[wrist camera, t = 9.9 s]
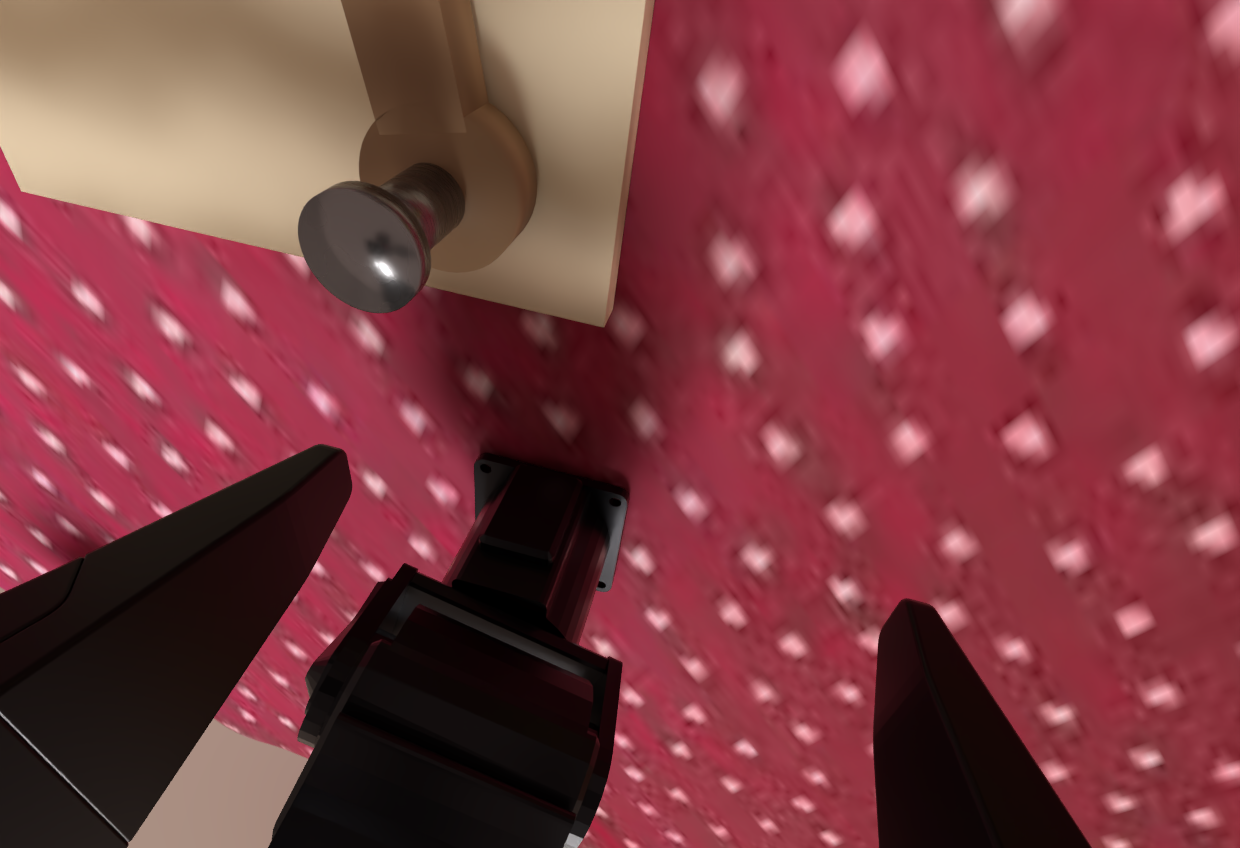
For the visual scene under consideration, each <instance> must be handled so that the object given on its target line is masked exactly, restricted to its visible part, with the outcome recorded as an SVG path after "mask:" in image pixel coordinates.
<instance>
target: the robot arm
mask: <svg viewBox="0 0 1240 848" xmlns="http://www.w3.org/2000/svg"><path fill="white" fill-rule="evenodd" d="M486 464H487V465H489V466H490V467H489V466H487V465H486ZM474 480H475V522H474V524H473V526H472V528H471V530H470V532H469V533H468V535H467V537H466V539H465V541H464V543H463V544H462V546H461V548H460V550H459V552H458V553H457V555H456V557H455V559H454V561H453V563H452V564H451V566H450V568H449V570H448V572H447V573H446V575H445V577H444V579H443V581H442V583H441V582H439V581H437V580H435V579H433V578H430V577H428V576H426V575H424V574H422V573H420V572H418V569H417V568H415V567H413V566H410V565H408V564H406V563H404V564H403V565H402V567H401V568H400V569H399V571H398V572H397V574H396V575H395V576H394V578H393V579H390V578H388V579H387V580H386V581H384V582H378V583H377V584H376V586H375V587H374V589H373V590H372V592H371V593H370V595H369V597H368V598H367V600H366V601H365V603H364V604H363V606H362V607H361V609H360V610H359V612H358V613H357V615H356V616H355V617H354V619H353V620H352V621H351V622H350V624H349V625H348V626H347V627H346V628H345V629H344V630H343V631H342V632H341V633H340V634H339V636H338V637H337V638H336V639H335V640H334V641H333V642H332V643H331V644H330V645H329V646H328V647H327V648H326V650H325V651H324V652H323V653H322V654H321V655H320V656H319V657H318V658H317V659H316V660H315V662H314V663H313V664H312V666H311V667H310V669H309V671H308V673H307V675H306V677H305V681H306V685H307V689H308V693H309V697H310V699H309V701H308V704H307V706H306V709H305V714H306V716H305V718H304V720H303V723H302V725H301V728H300V730H299V734H298V741H299V742H301V743H304V744H306V745H308V746H311V747H313V748H314V750H313V751H312V753H311V755H310V757H309V759H308V761H307V763H306V765H305V767H304V769H303V771H302V773H301V775H300V777H299V779H298V780H297V783H296V784H295V786H294V788H293V790H292V792H291V794H290V796H289V798H288V800H287V802H286V804H285V806H284V808H283V809H282V811H281V813H280V815H279V817H278V819H277V821H276V824H275V827H274V829H273V835H272V841H271V843H270V845H269V847H268V848H577V847H578V846H579V844H580V843H581V841H582V840H583V838H584V836H585V835H586V833H587V831H588V829H589V827H590V825H591V823H592V820H593V818H594V816H595V814H596V811H597V809H598V806H599V803H600V800H601V798H602V795H603V792H604V788H605V785H606V782H607V778H608V774H609V770H610V766H611V760H612V754H613V746H614V737H615V728H616V718H617V709H618V700H619V691H620V682H621V673H622V662H621V661H618V660H616V659H614V658H612V657H610V656H609V657H608V658H606V657H604V656H601V655H599V654H597V653H595V652H593V651H590V650H588V649H586V648H584V647H582V646H579V641H580V638H581V635H582V632H583V629H584V626H585V623H586V620H587V616H588V613H589V610H590V607H591V604H592V601H593V598H594V594H595V591H596V590H597V591H601V592H607V591H609V590H610V589H611V587H612V583H613V580H614V575H615V569H616V564H617V559H618V554H619V549H620V544H621V539H622V534H623V528H624V523H625V518H626V513H627V508H628V503H629V494H628V493H627V491H626V490H624V489H623V488H620V487H617V486H613V485H610V484H606V483H602V482H598V481H594V480H590V479H586V478H582V477H579V476H575V475H571V474H567V473H563V472H559V471H555V470H551V469H548V468H544V467H540V466H536V465H532V464H528V463H524V462H520V461H516V460H513V459H509V458H505V457H501V456H497V455H493V454H489V453H483V454H481V455H480V456H479V457H478V458H477V460H476V462H475V464H474ZM351 492H352V480H351V475H350V470H349V465H348V460H347V455H346V453H345V452H344V450H342V449H340V448H336V447H332V446H329V445H325V444H318V445H315V446H313V447H310V448H308V449H306V450H304V451H302V452H300V453H298V454H296V455H294V456H292V457H289V458H287V459H285V460H283V461H281V462H279V463H277V464H275V465H273V466H271V467H268V468H266V469H264V470H262V471H260V472H258V473H256V474H254V475H252V476H249V477H247V478H245V479H243V480H241V481H239V482H237V483H235V484H233V485H231V486H228V487H226V488H224V489H222V490H220V491H218V492H216V493H214V494H212V495H210V496H207V497H205V498H203V499H201V500H199V501H197V502H195V503H193V504H191V505H189V506H186V507H184V508H182V509H180V510H178V511H176V512H174V513H172V514H170V515H168V516H165V517H163V518H161V519H159V520H157V521H155V522H153V523H151V524H149V525H147V526H144V527H142V528H140V529H138V530H136V531H134V532H132V533H130V534H128V535H125V536H123V537H121V538H119V539H117V540H115V541H113V542H111V543H109V544H107V545H104V546H102V547H100V548H98V549H96V550H94V551H92V552H90V553H88V554H86V556H85V558H84V557H79V558H77V559H75V560H73V561H70V562H68V563H66V564H64V565H62V566H60V567H58V568H56V569H54V570H51V571H49V572H47V573H45V574H43V575H41V576H38V577H36V578H34V579H32V580H30V581H27V582H25V583H23V584H21V585H19V586H16V587H14V588H12V589H10V590H8V591H5V592H3V593H0V848H127V847H128V842H130V841H131V840H132V838H133V837H134V836H135V834H136V833H137V831H138V830H139V828H140V827H141V825H142V824H143V822H144V821H145V819H146V818H147V816H148V815H149V813H150V812H151V810H152V809H153V807H154V806H155V804H156V803H157V801H158V800H159V798H160V797H161V795H162V794H163V793H164V791H165V790H166V788H167V787H168V785H169V784H170V782H171V781H172V779H173V778H174V776H175V775H176V773H177V772H178V770H179V768H180V767H181V766H182V764H183V763H184V761H185V760H186V758H187V757H188V755H189V754H190V752H191V751H192V749H193V748H194V746H195V745H196V743H197V742H198V740H199V739H200V737H201V736H202V734H203V733H204V731H205V730H206V728H207V727H208V725H209V724H210V723H211V721H212V719H213V718H214V717H215V715H216V714H217V712H218V711H219V709H220V708H221V706H222V705H223V703H224V702H225V700H226V699H227V697H228V696H229V694H230V693H231V691H232V690H233V688H234V687H235V685H236V684H237V682H238V681H239V679H240V678H241V676H242V675H243V673H244V672H245V670H246V669H247V667H248V666H249V664H250V663H251V661H252V660H253V658H254V657H255V655H256V654H257V653H258V651H259V650H260V648H261V647H262V645H263V644H264V642H265V641H266V639H267V638H268V636H269V635H270V633H271V632H272V630H273V629H274V627H275V626H276V624H277V623H278V621H279V620H280V618H281V617H282V615H283V614H284V612H285V611H286V609H287V608H288V606H289V605H290V603H291V602H292V600H293V599H294V597H295V596H296V594H297V593H298V591H299V590H300V588H301V587H302V585H303V584H304V582H305V581H306V579H307V577H308V576H309V574H310V572H311V570H312V569H313V567H314V565H315V563H316V561H317V559H318V557H319V556H320V554H321V552H322V550H323V548H324V546H325V544H326V542H327V540H328V538H329V536H330V534H331V533H332V531H333V529H334V527H335V525H336V523H337V521H338V519H339V517H340V515H341V513H342V512H343V510H344V508H345V506H346V504H347V502H348V500H349V498H350V495H351ZM614 498H617V499H619V500H616V499H614ZM873 753H874V770H875V787H876V804H877V821H878V838H879V848H1092V847H1091V846H1090V844H1089V843H1088V841H1087V839H1086V838H1085V836H1084V835H1083V833H1082V832H1081V830H1080V829H1079V827H1078V826H1077V824H1076V823H1075V821H1074V820H1073V818H1072V817H1071V815H1070V814H1069V812H1068V810H1067V809H1066V807H1065V806H1064V804H1063V803H1062V801H1061V800H1060V798H1059V797H1058V795H1057V794H1056V792H1055V791H1054V789H1053V788H1052V786H1051V785H1050V783H1049V782H1048V780H1047V778H1046V777H1045V775H1044V774H1043V772H1042V771H1041V769H1040V768H1039V766H1038V765H1037V763H1036V762H1035V760H1034V759H1033V757H1032V756H1031V754H1030V753H1029V751H1028V750H1027V748H1026V746H1025V745H1024V743H1023V742H1022V740H1021V739H1020V737H1019V736H1018V734H1017V733H1016V731H1015V730H1014V728H1013V727H1012V725H1011V724H1010V722H1009V721H1008V719H1007V717H1006V716H1005V714H1004V713H1003V711H1002V710H1001V708H1000V707H999V705H998V704H997V702H996V701H995V699H994V698H993V696H992V695H991V693H990V692H989V690H988V689H987V687H986V685H985V684H984V682H983V681H982V679H981V678H980V676H979V675H978V673H977V672H976V670H975V669H974V667H973V666H972V664H971V663H970V661H969V660H968V658H967V656H966V655H965V653H964V652H963V650H962V649H961V647H960V646H959V644H958V643H957V641H956V640H955V638H954V637H953V635H952V634H951V632H950V631H949V629H948V628H947V626H946V624H945V623H944V621H943V620H942V618H941V617H940V615H939V614H938V612H937V611H936V609H935V608H934V607H933V606H931V605H930V604H927V603H923V602H920V601H916V600H912V599H907V598H905V599H903V600H901V601H900V602H899V604H898V605H897V606H896V608H895V609H894V611H893V612H892V614H891V615H890V617H889V618H888V620H887V621H886V623H885V624H884V626H883V627H882V629H881V632H880V635H879V640H878V655H877V672H876V689H875V706H874V725H873Z"/></svg>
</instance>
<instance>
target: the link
mask: <svg viewBox="0 0 1240 848" xmlns="http://www.w3.org/2000/svg"><path fill="white" fill-rule="evenodd" d="M341 3H342V6H343V10H344V13H345V17H346V20H347V24H348V27H349V31H350V34H351V38H352V41H353V45H354V48H355V52H356V55H357V59H358V62H359V66H360V69H361V73H362V76H363V80H364V83H365V87H366V90H367V94H368V97H369V101H370V104H371V108H372V111H373V115H374V118H375V122H374V123H373V124H372V125H371V126H370V128H369V130H368V131H367V133H366V135H365V137H364V140H363V142H362V146H361V150H360V156H359V177H360V181H361V182H366V183H370V184H373V185H376V186H378V187H379V186H380V185H382V184H384V183H385V182H387V181H388V180H390V179H391V178H393V177H394V176H396V175H397V174H399V173H401V172H402V171H404V170H405V169H407V168H408V167H410V166H412V165H413V164H416V163H421V162H426V163H431V164H435V165H437V166H439V167H441V168H443V169H444V170H446V171H447V172H448V173H449V174H450V175H451V176H452V177H453V178H454V179H455V180H456V182H457V183H458V185H459V186H460V188H461V190H462V193H463V196H464V200H465V212H464V216H463V219H462V221H461V222H460V224H459V225H458V226H457V227H456V228H455V229H453V230H452V231H451V232H450V233H449V234H448V235H447V236H446V237H445V238H443V239H442V240H441V241H440V242H439V243H438V244H437V245H436V246H435V247H434V248H432V249H431V250H430V252H431V268H434V269H437V270H441V271H446V272H455V273H461V272H470V271H475V270H478V269H481V268H484V267H485V266H487V265H489V264H491V263H492V262H493V261H495V260H496V259H497V258H498V257H499V256H500V255H501V254H502V253H503V252H504V251H505V250H506V249H507V248H508V246H509V245H510V244H511V243H512V242H513V241H514V240H515V239H516V237H517V236H518V235H519V234H520V233H521V232H522V231H523V230H524V228H525V227H526V225H527V224H528V222H529V220H530V218H531V216H532V214H533V211H534V207H535V203H536V197H537V178H536V171H535V167H534V163H533V160H532V157H531V154H530V151H529V149H528V147H527V145H526V143H525V141H524V139H523V138H522V136H521V134H520V133H519V131H518V130H517V128H516V127H515V126H514V125H513V123H512V122H511V121H510V120H509V119H508V118H507V117H506V116H505V115H504V114H503V113H502V112H501V111H500V110H499V109H497V108H496V107H495V106H494V105H492V104H490V103H489V102H488V96H487V91H486V86H485V80H484V75H483V69H482V64H481V59H480V53H479V48H478V43H477V37H476V32H475V26H474V21H473V16H472V10H471V5H470V0H341Z"/></svg>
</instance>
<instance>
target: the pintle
mask: <svg viewBox="0 0 1240 848" xmlns="http://www.w3.org/2000/svg"><path fill="white" fill-rule="evenodd" d="M464 212H465V200H464V196H463V193H462V190H461V188H460V186H459V185H458V183H457V182H456V180H455V179H454V178H453V177H452V176H451V175H450V174H449V173H448V172H447V171H446V170H444V169H443V168H441V167H439V166H437V165H435V164H431V163H426V162H421V163H416V164H413V165H412V166H410V167H408V168H407V169H405V170H404V171H402V172H401V173H399V174H397V175H396V176H394V177H393V178H391V179H390V180H388V181H387V182H385V183H384V184H382V185H380V186H379V187H378V186H376V185H373V184H370V183H366V182H361V181H345V182H340V183H337V184H335V185H333V186H331V187H329V188H328V189H326V190H324V191H323V192H321V193H319V194H317V195H316V196H314V197H313V198H311V199H310V200H309V201H308V202H307V203H306V205H305V206H304V207H303V209H302V211H301V214H300V217H299V222H298V238H299V244H300V247H301V251H302V253H303V256H304V258H305V260H306V262H307V264H308V266H309V268H310V269H311V271H312V272H313V274H314V275H315V276H316V278H317V279H318V280H319V281H320V283H321V284H322V285H323V286H324V287H325V288H326V289H327V290H328V291H329V292H331V293H332V294H333V295H334V296H336V297H337V298H338V299H340V300H341V301H343V302H345V303H346V304H348V305H350V306H352V307H355V308H357V309H360V310H363V311H367V312H372V313H388V312H392V311H395V310H398V309H400V308H402V307H403V306H405V305H406V304H407V303H408V302H409V301H410V300H411V299H412V298H413V297H414V296H415V295H416V294H417V293H418V292H419V291H420V290H421V289H422V288H423V287H424V285H425V284H426V282H427V280H428V278H429V275H430V271H431V252H430V250H431V249H432V248H434V247H435V246H436V245H437V244H438V243H439V242H440V241H441V240H442V239H443V238H445V237H446V236H447V235H448V234H449V233H450V232H451V231H452V230H453V229H455V228H456V227H457V226H458V225H459V224H460V222H461V221H462V219H463V216H464Z"/></svg>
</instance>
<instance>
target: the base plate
mask: <svg viewBox="0 0 1240 848" xmlns="http://www.w3.org/2000/svg"><path fill="white" fill-rule="evenodd" d="M654 1H655V0H470V5H471V10H472V16H473V21H474V26H475V32H476V37H477V43H478V48H479V53H480V59H481V64H482V69H483V75H484V80H485V86H486V91H487V96H488V102H489V103H490V104H492V105H494V106H495V107H496V108H497V109H499V110H500V111H501V112H502V113H503V114H504V115H505V116H506V117H507V118H508V119H509V120H510V121H511V122H512V123H513V125H514V126H515V127H516V128H517V130H518V131H519V133H520V134H521V136H522V138H523V139H524V141H525V143H526V145H527V147H528V149H529V151H530V154H531V157H532V160H533V163H534V167H535V171H536V178H537V197H536V203H535V207H534V211H533V214H532V216H531V218H530V220H529V222H528V224H527V225H526V227H525V228H524V230H523V231H522V232H521V233H520V234H519V235H518V236H517V237H516V239H515V240H514V241H513V242H512V243H511V244H510V245H509V246H508V248H507V249H506V250H505V251H504V252H503V253H502V254H501V255H500V256H499V257H498V258H497V259H496V260H495V261H493V262H492V263H491V264H489V265H487V266H485V267H484V268H481V269H478V270H475V271H470V272H461V273H455V272H446V271H441V270H437V269H434V268H431V271H430V275H429V278H428V280H427V282H426V284H425V285H424V286H428V287H432V288H437V289H441V290H445V291H450V292H454V293H458V294H462V295H467V296H471V297H475V298H479V299H484V300H488V301H492V302H496V303H501V304H505V305H509V306H514V307H518V308H522V309H526V310H531V311H535V312H539V313H543V314H548V315H552V316H556V317H561V318H565V319H569V320H573V321H578V322H582V323H586V324H590V325H595V326H599V327H603V328H604V326H605V324H606V322H607V320H608V318H609V316H610V314H611V312H612V310H613V305H614V297H615V290H616V282H617V275H618V268H619V260H620V253H621V245H622V238H623V231H624V223H625V216H626V208H627V201H628V194H629V186H630V179H631V171H632V164H633V157H634V149H635V142H636V134H637V127H638V120H639V112H640V105H641V98H642V90H643V83H644V75H645V68H646V61H647V53H648V46H649V38H650V31H651V24H652V16H653V9H654ZM374 122H375V118H374V115H373V111H372V108H371V104H370V101H369V97H368V94H367V90H366V87H365V83H364V80H363V76H362V73H361V69H360V66H359V62H358V59H357V55H356V52H355V48H354V45H353V41H352V38H351V34H350V31H349V27H348V24H347V20H346V17H345V13H344V10H343V6H342V3H341V0H0V146H1V149H2V151H3V153H4V155H5V157H6V159H7V161H8V164H9V166H10V168H11V170H12V172H13V174H14V177H15V179H16V181H17V183H18V185H19V187H20V189H21V191H22V192H27V193H31V194H35V195H40V196H44V197H48V198H52V199H57V200H61V201H65V202H69V203H74V204H78V205H82V206H86V207H91V208H95V209H99V210H104V211H108V212H112V213H116V214H121V215H125V216H129V217H133V218H138V219H142V220H146V221H151V222H155V223H159V224H163V225H168V226H172V227H176V228H180V229H185V230H189V231H193V232H198V233H202V234H206V235H210V236H215V237H219V238H223V239H227V240H232V241H236V242H240V243H245V244H249V245H253V246H257V247H262V248H266V249H270V250H274V251H279V252H283V253H287V254H291V255H296V256H300V257H304V256H303V253H302V251H301V247H300V244H299V238H298V222H299V217H300V214H301V211H302V209H303V207H304V206H305V205H306V203H307V202H308V201H309V200H310V199H311V198H313V197H314V196H316V195H317V194H319V193H321V192H323V191H324V190H326V189H328V188H329V187H331V186H333V185H335V184H337V183H340V182H345V181H360V177H359V156H360V150H361V146H362V142H363V140H364V137H365V135H366V133H367V131H368V130H369V128H370V126H371V125H372V124H373V123H374Z"/></svg>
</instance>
